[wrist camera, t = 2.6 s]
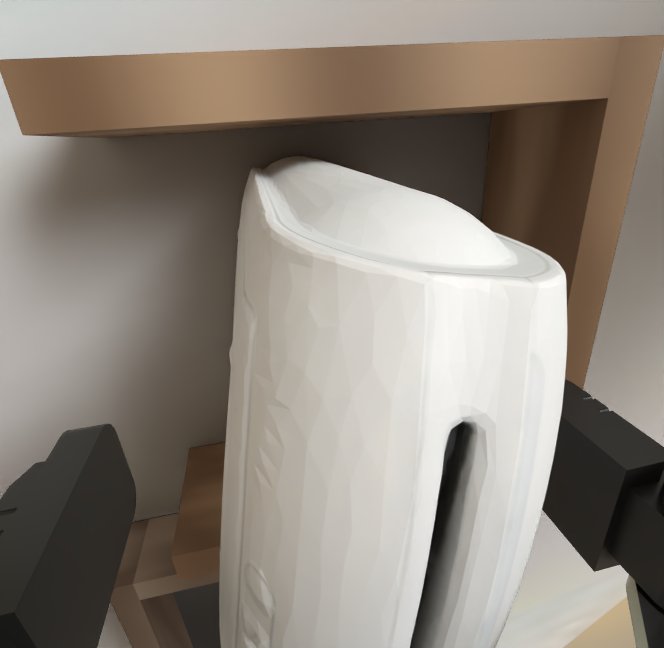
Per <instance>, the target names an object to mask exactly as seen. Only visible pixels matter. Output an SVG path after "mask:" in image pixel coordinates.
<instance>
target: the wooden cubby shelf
mask: <svg viewBox="0 0 664 648" xmlns="http://www.w3.org/2000/svg"><path fill="white" fill-rule="evenodd" d="M663 47H664V35H651V36H624V37H597V38H570V39H543V40H516V41H490V42H463V43H436V44H409V45H382V46H355V47H328V48H301V49H275V50H248V51H221V52H194V53H167V54H140V55H113V56H87V57H60V58H33V59H6V60H0V72H1V75H2V78H3V80H4V83H5V86H6V89H7V92H8V95H9V97H10V100H11V103H12V106H13V109H14V112H15V115H16V117H17V120H18V123H19V126H20V129H21V132H22V134H23V135H35V136H66V137H98V138H108V137H123V136H138V135H153V134H168V133H183V132H198V131H213V130H229V129H244V128H259V127H274V126H289V125H304V124H319V123H334V122H350V121H365V120H380V119H395V118H410V117H425V116H440V115H455V114H470V113H486V112H492V113H491V124H490V135H489V146H488V157H487V169H486V180H485V191H484V202H483V213H482V224H484V225H485V226H486V227H487V228H489V229H490V230H491V231H492V232H495V233H498V234H501V235H503V236H506V237H509V238H511V239H514V240H516V241H519V242H521V243H523V244H526V245H528V246H531V247H533V248H535V249H537V250H539V251H541V252H543V253H545V254H547V255H549V256H550V257H552V258H553V259H554V260H555V261H557V262H558V263H559V264H560V266H561V267H562V269H563V270H564V272H565V275H566V290H567V356H566V370H565V379H566V380H568V381H571V382H572V383H574V384H575V385H577V386H578V387H580V388H581V389H582V390H583V386H584V382H585V377H586V373H587V369H588V365H589V360H590V356H591V352H592V348H593V344H594V339H595V335H596V331H597V327H598V322H599V318H600V314H601V310H602V305H603V301H604V297H605V293H606V288H607V284H608V280H609V276H610V271H611V267H612V263H613V259H614V254H615V250H616V246H617V242H618V238H619V233H620V229H621V225H622V221H623V216H624V212H625V208H626V204H627V199H628V195H629V191H630V187H631V182H632V178H633V174H634V170H635V165H636V161H637V157H638V153H639V148H640V144H641V140H642V136H643V131H644V127H645V123H646V119H647V115H648V110H649V106H650V102H651V98H652V93H653V89H654V85H655V81H656V76H657V72H658V68H659V64H660V59H661V55H662V51H663ZM225 444H226V442H224V443H218V444H213V445H207V446H202V447H196V448H191V449H190V451H189V456H188V462H187V468H186V474H185V479H184V485H183V491H182V496H181V502H180V508H179V514H178V519H177V525H176V531H175V537H174V542H173V548H172V554H171V558H172V561H173V564H174V567H175V570H176V573H177V576H178V578H179V581H183V580H187V579H192V578H196V577H200V576H205V575H209V574H214V573H218V572H220V538H221V515H222V494H223V476H224V459H225Z"/></svg>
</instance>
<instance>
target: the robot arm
mask: <svg viewBox="0 0 664 648" xmlns="http://www.w3.org/2000/svg"><path fill="white" fill-rule="evenodd" d="M135 508H136V490H135V484H134V480H133V477H132V475H131V472H130V469H129V466H128V463H127V461H126V458H125V455H124V452H123V449H122V447H121V444H120V441H119V438H118V435H117V433H116V430H115V429H114V427H113V426H112V425H111V424H103V425H97V426H92V427H86V428H80V429H74V430H68V431H66V432H64V433H63V434H62V436H61V437H60V439H59V440H58V442H57V444H56V445H55V447H54V449H53V450H52V452H51V454H50V455H49V457H48V458H47V460H46V461H45V462H40V463H35V464H34V465H33V466H32V467H31V468H30V469H29V470H28V471H26V472H25V473H24V474H23V475H22V476H21V477H20V478H19V479H17V480H16V481H15V482H14V483H13V484H12V485H11V486H9V488H8V489H7V491H6V492H5V494H4V495H3V497H2V498H1V500H0V648H97V646H98V642H99V639H100V635H101V632H102V628H103V625H104V621H105V617H106V614H107V610H108V607H109V603H110V600H111V596H112V593H113V589H114V585H115V582H116V578H117V575H118V571H119V568H120V564H121V560H122V557H123V553H124V550H125V546H126V543H127V539H128V535H129V532H130V528H131V525H132V521H133V518H134V514H135ZM542 510H543V511H544V512H545V513H546V514H547V516H548V517H549V518H550V519H551V520H552V522H553V523H554V524H555V525H556V526H557V528H558V529H559V530H560V531H561V532H562V534H563V535H564V536H565V537H566V538H567V540H568V541H569V542H570V543H571V544H572V546H573V547H574V548H575V549H576V550H577V552H578V553H579V554H580V555H581V556H582V558H583V559H584V560H585V561H586V562H587V564H588V565H589V566H590V567H591V568H592V569H593V571H594V572H595V571H599V570H602V569H606V568H609V567H613V566H617V565H621V566H622V567H623V568H624V569H625V571H626V572H627V573H628V574H629V576H628V579H627V583H626V592H627V598H628V603H629V609H630V614H631V620H632V626H633V631H634V636H635V642H636V648H664V447H663V446H661V445H660V444H659V443H657V442H656V441H654V440H653V439H652V438H650V437H649V436H647V435H646V434H644V433H643V432H642V431H640V430H639V429H637V428H636V427H635V426H633V425H632V424H630V423H629V422H628V421H626V420H625V419H623V418H622V417H620V416H619V415H618V414H616V413H615V412H613V411H609V410H608V407H606V406H605V405H604V404H602V403H601V402H599V401H598V400H596V399H592V398H591V395H589V394H588V393H587V392H585V391H584V390H582V389H581V388H580V387H578V386H577V385H575V384H574V383H572V382H571V381H568V380H566V379H565V382H564V392H563V403H562V412H561V417H560V423H559V429H558V435H557V441H556V446H555V452H554V458H553V463H552V467H551V472H550V477H549V481H548V486H547V490H546V494H545V499H544V503H543V507H542Z"/></svg>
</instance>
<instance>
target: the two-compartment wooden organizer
mask: <svg viewBox="0 0 664 648" xmlns="http://www.w3.org/2000/svg"><path fill="white" fill-rule="evenodd" d="M178 514H179V513H177V514H172V515H167V516H162V517H157V518H152V519H147V520H142V521H137V522H133V523H132V525H131V528H130V532H129V535H128V539H127V543H126V546H125V550H124V553H123V557H122V560H121V564H120V568H119V571H118V575H117V578H116V582H115V585H114V589H113V593H112V596H111V600H110V601H111V603H112V605H113V608H114V610H115V612H116V614H117V616H118V618H119V620H120V622H121V624H122V626H123V628H124V630H125V632H126V635H127V637H128V639H129V641H130V643H131V645H132V647H133V648H221V641H220V627H219V621H220V620H219V618H220V617H219V616H220V612H219V579H220V572H218V573H214V574H209V575H205V576H200V577H196V578H192V579H187V580H183V581H179V578H178V576H177V573H176V570H175V567H174V564H173V561H172V558H171V554H172V548H173V542H174V537H175V531H176V525H177V519H178Z"/></svg>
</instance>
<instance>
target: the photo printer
mask: <svg viewBox="0 0 664 648" xmlns="http://www.w3.org/2000/svg"><path fill="white" fill-rule="evenodd" d="M237 236H238V248H237V263H236V279H235V299H234V323H233V342H232V345H231V348H230V351H229V358H230V363H231V372H230V386H229V400H228V414H227V429H226V444H225V459H224V476H223V494H222V515H221V538H220V579H219V612H220V616H219V617H220V618H219V620H220V621H219V627H220V641H221V648H495V646H496V644H497V642H498V639H499V637H500V635H501V633H502V630H503V628H504V626H505V623H506V621H507V618H508V615H509V613H510V610H511V608H512V605H513V603H514V600H515V597H516V595H517V592H518V589H519V586H520V583H521V580H522V577H523V574H524V570H525V567H526V564H527V561H528V558H529V555H530V551H531V548H532V544H533V541H534V537H535V533H536V530H537V526H538V522H539V519H540V515H541V511H542V507H543V503H544V499H545V494H546V490H547V486H548V481H549V477H550V472H551V467H552V463H553V458H554V452H555V446H556V441H557V435H558V429H559V423H560V417H561V412H562V403H563V392H564V382H565V370H566V356H567V290H566V275H565V272H564V270H563V269H562V267H561V266H560V264H559V263H558V262H557V261H555V260H554V259H553V258H552V257H550V256H549V255H547V254H545V253H543V252H541V251H539V250H537V249H535V248H533V247H531V246H528V245H526V244H523V243H521V242H519V241H516V240H514V239H511V238H509V237H506V236H503V235H501V234H498V233H495V232H492V231H491V230H490V229H489V228H487V227H486V226H485V225H484V224H482V223H481V222H480V221H479V220H478V219H476V218H475V217H474V216H473V215H471V214H470V213H468V212H467V211H465V210H463V209H461V208H459V207H458V206H456V205H454V204H452V203H450V202H448V201H447V200H445V199H442V198H440V197H437V196H435V195H431V194H428V193H424V192H421V191H418V190H415V189H411V188H408V187H405V186H402V185H399V184H396V183H393V182H390V181H386V180H383V179H380V178H377V177H374V176H371V175H368V174H364V173H361V172H358V171H355V170H352V169H349V168H345V167H342V166H339V165H336V164H332V163H329V162H326V161H323V160H319V159H315V158H312V157H306V156H293V157H287V158H283V159H280V160H278V161H276V162H274V163H272V164H270V165H269V166H267V167H266V168H265V169H259V168H256V167H253V168H252V169H251V171H250V174H249V177H248V180H247V184H246V187H245V191H244V197H243V200H242V206H241V216H240V226H239V230H238V232H237Z"/></svg>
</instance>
